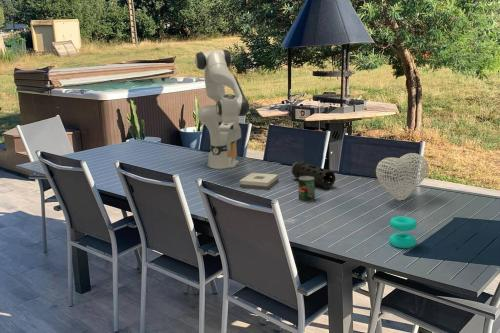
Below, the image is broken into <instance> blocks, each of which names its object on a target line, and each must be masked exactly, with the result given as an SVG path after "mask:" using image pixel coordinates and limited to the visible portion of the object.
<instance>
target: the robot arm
mask: <svg viewBox="0 0 500 333" xmlns="http://www.w3.org/2000/svg"><path fill="white" fill-rule="evenodd" d="M232 59H233V58H232V55H231V52H230V51H229V50H228V49H212V50H206V51H198V52H197V53H196V54H195V57H194V64H195V66H196V68H197V69H198V70H201V71H203V70H204V85H205V92H206V96H207V97H208V98H209V99H211V100H214V101H215V104H210V105H204V106H202V107H200V108H199V109H198V111H197V118H198V120H199V122H201V123H202V124H203V125H204V126H205V127H206V128H207V130H208V132H209V139H210V144H209V150H210V152H208V163H206V166H207V167H209V168H211V169H215V170H216V169H217V170H219V169H220V170H222V169H231V168H235V167H236V166H237V165H238V163H239V160H238V159H236V157H235V158H228V157H227V148H228V151H231V150H232V147H231V142H236V143H237V140H239V139H241V138H242V129H241V125H240V124H239V117H245V116H247V114H248V113H249V112H250V103H249V101H248V99H247V98H246V96H245V94H244V92H243V90H242V87H241V84H240V83H239V81H238V78H237V77H236V75H234V74H232V73H231V71H230V70H229V68H230V66H231V64H232V61H233V60H232ZM228 67H229V68H228ZM225 87H227V88H230V89H231V90H232V92H233V93H232V94H231V93H227V94H226V91H225ZM219 123H220V124H219Z"/></svg>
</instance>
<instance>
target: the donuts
mask: <svg viewBox="0 0 500 333" xmlns="http://www.w3.org/2000/svg"><path fill="white" fill-rule="evenodd" d="M389 226H390V227H391V228H392V229H393V230H396V231H398V232H396V233H393V234H391V235H390V236H389V238H388V242H389V244H390V245H392V246H393V247H395V248H397V249H398V248H399V249H410V248H413V247H416V246H415V245H417V239H416V237H415V236H414V235H413V234H410V233H406V232H410V231H414V230H415V229H416V228H417V227H418V222H417V220H416V219H415V218H413V217H409V216H402V215H401V216H395V217H392V218H390V221H389Z"/></svg>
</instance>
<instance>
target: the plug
mask: <svg viewBox="0 0 500 333" xmlns="http://www.w3.org/2000/svg"><path fill="white" fill-rule="evenodd" d="M231 147H232V150H231V151H228V148H227V157H228V158H235V159H236V157H237V156H238V153H237V152H238V151H237V150H238V149H237V141H236V142H231Z"/></svg>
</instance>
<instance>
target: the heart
mask: <svg viewBox="0 0 500 333" xmlns="http://www.w3.org/2000/svg"><path fill="white" fill-rule="evenodd" d="M429 170H430V169H429V163H428V161H427V159H426V158H425V157H424V156H423V155H421V154H420V153H419V154H418V153H416V152H415V153H414V152H413V153H412V152H408V153H406V154H404V155H402V156H400V157H391V156H390V157H384V159H382V160H380V161H379V162H378V164H377V166H376V168H375V174H376V178H377V180H378V182H379V183H380V184H381V186H382V187H383V188H384V189H385V190H386V191H387V192H388V193H389V194H390V195H392V197H393V198H395V199H396V200H397V201H399V202H402V201H401V200H403V201H405V200H406V199H407V198H408V197H409V196H410V194H412V193H413V191H414V190H415V189H416V188H417V187H418V186H419V185H420V184H421V183H422V182H423V181H424V180H425V178H426V177H427V175H428V173H429ZM393 178H394V179H393Z"/></svg>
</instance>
